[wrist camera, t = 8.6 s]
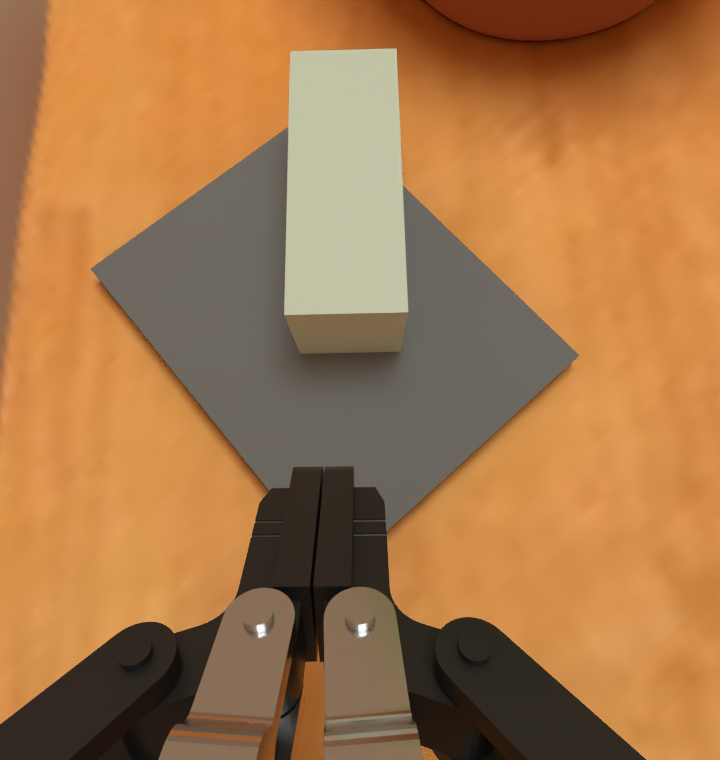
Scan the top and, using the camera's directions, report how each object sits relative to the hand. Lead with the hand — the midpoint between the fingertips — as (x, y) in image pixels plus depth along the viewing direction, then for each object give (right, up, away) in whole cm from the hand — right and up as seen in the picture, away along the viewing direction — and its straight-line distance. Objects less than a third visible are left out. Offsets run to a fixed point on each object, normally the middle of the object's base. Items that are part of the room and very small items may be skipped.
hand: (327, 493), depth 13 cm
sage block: (0, +5, +8) cm, 9 cm away
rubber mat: (-1, +6, +12) cm, 13 cm away
